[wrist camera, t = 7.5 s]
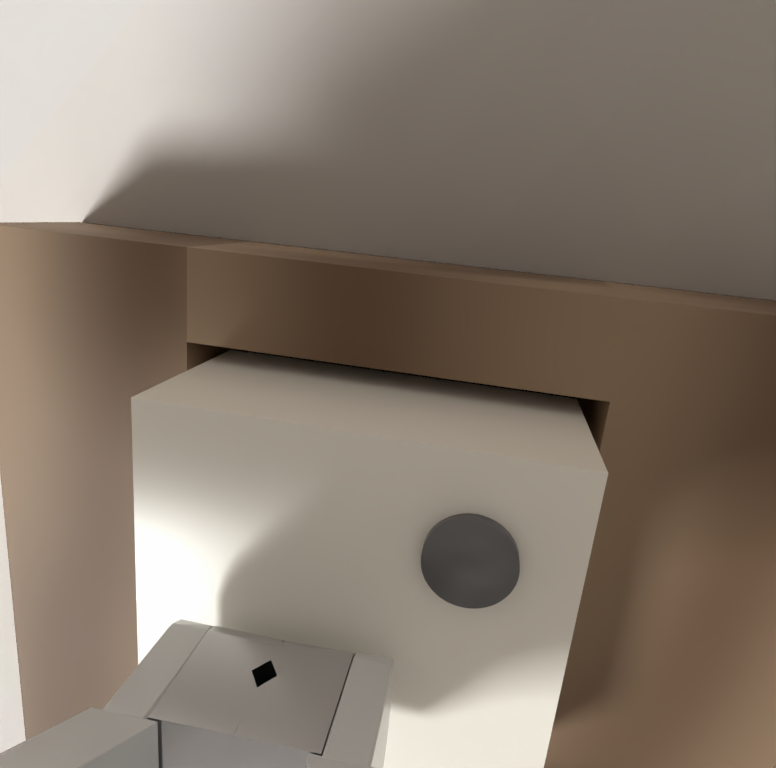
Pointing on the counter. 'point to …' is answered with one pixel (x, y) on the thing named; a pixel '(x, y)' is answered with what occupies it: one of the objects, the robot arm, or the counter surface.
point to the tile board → (428, 358)
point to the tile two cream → (376, 535)
